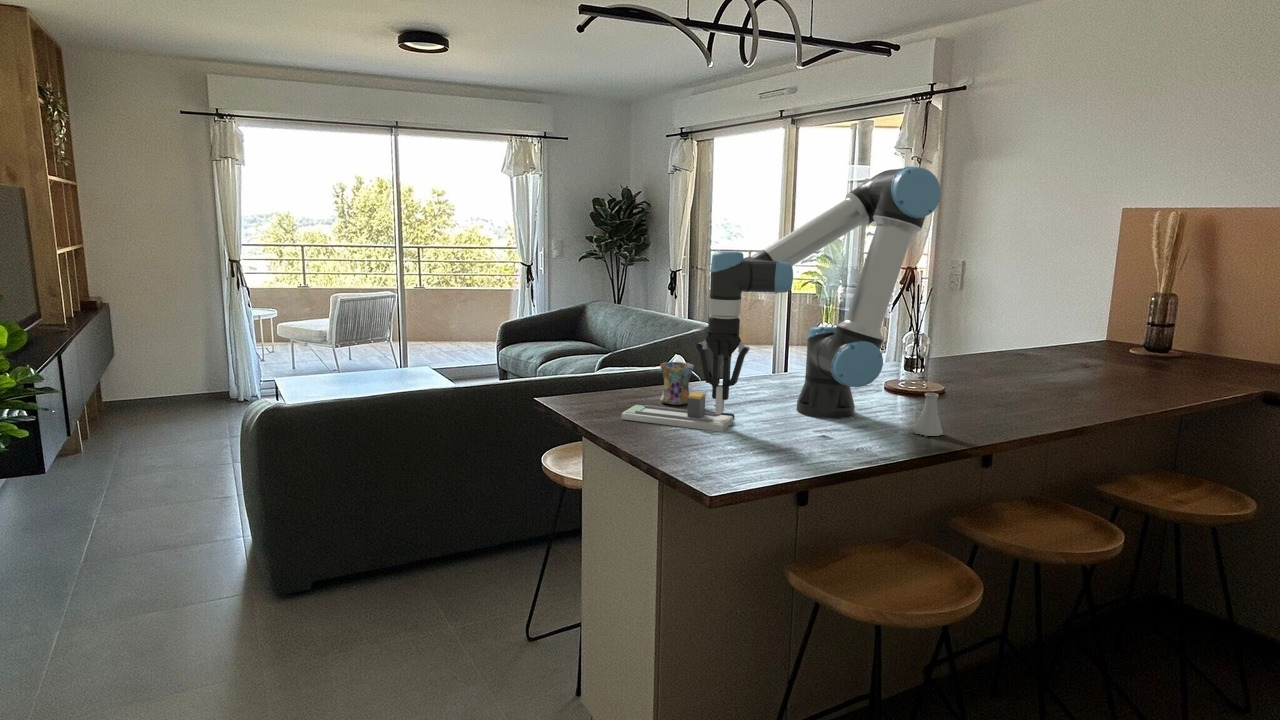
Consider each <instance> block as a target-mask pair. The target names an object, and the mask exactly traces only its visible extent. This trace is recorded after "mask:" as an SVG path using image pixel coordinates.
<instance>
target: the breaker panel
mask: <svg viewBox="0 0 1280 720" xmlns="http://www.w3.org/2000/svg"><path fill="white" fill-rule="evenodd" d="M666 407H667V406H659V407H658V405H649V404H645V405H643V406H642V404H641V405H640V404H635V405H634V406H633V405H632V406H631V407H630V408H628V409H626V410H624V411H623V412H621V420H626V421H635V422H641V423H642V422H643V423H649V424H650V423H651V424H659V425H666V426H675V427H680V428H681V427H683V428H690V429H698V430H707V431H714V432H721V433H723V432H724V431H725V430H726V429H728V427H729V426H730V425H731V424H732V423H733V419H734V418H733V416H726V415H720V414H717V413H709V412H705V415H704V416H702V417H701V418H693V417H687V414H688V410H683V409H684V408H680V409H675V408H676V407H670V408H666Z"/></svg>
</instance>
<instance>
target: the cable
mask: <svg viewBox="0 0 1280 720" xmlns="http://www.w3.org/2000/svg"><path fill="white" fill-rule="evenodd" d="M657 406H658V405H657ZM658 407H660V406H658ZM665 407H666V408H671V407H669V406H665ZM674 408H675V409H681V407H680V408H679V407H674ZM682 409H683V410H688V408H687V409H686V408H682ZM705 412H709V413H715V411H709V410H705ZM717 414H719V413H717ZM720 415H727V416H733V419H734V418H735V414H734V413H727V412H723V413H721V414H720Z"/></svg>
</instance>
